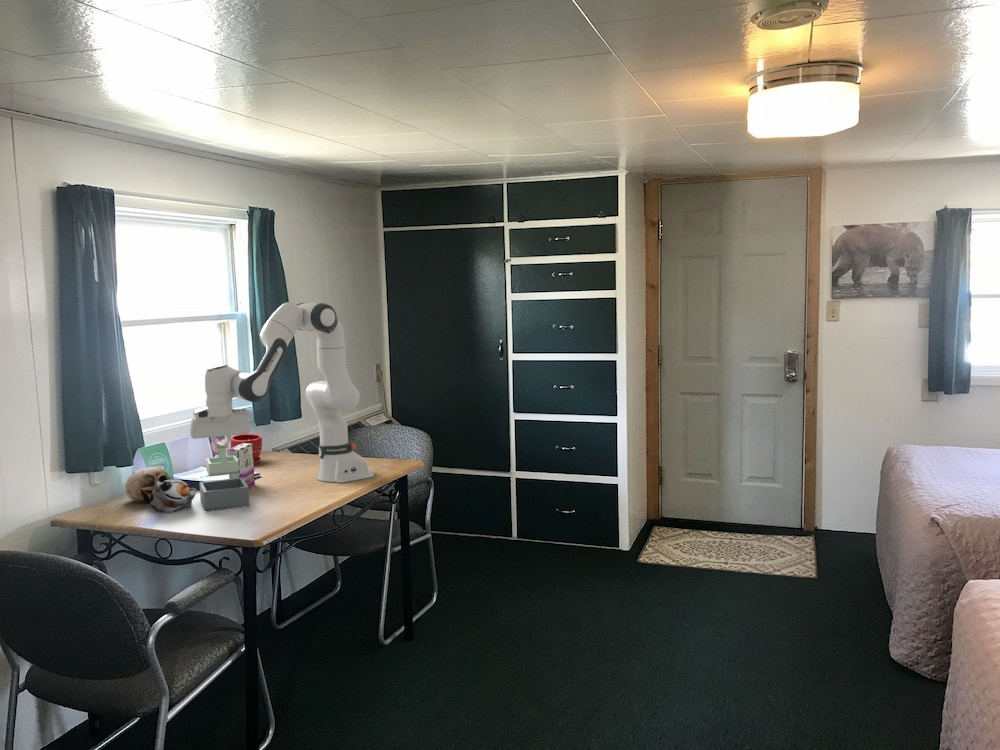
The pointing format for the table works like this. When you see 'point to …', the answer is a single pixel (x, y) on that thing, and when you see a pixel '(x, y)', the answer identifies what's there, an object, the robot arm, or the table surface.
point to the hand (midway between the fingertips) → (221, 448)
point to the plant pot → (250, 439)
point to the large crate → (224, 494)
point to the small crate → (222, 463)
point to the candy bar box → (243, 462)
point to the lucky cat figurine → (171, 495)
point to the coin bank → (144, 483)
